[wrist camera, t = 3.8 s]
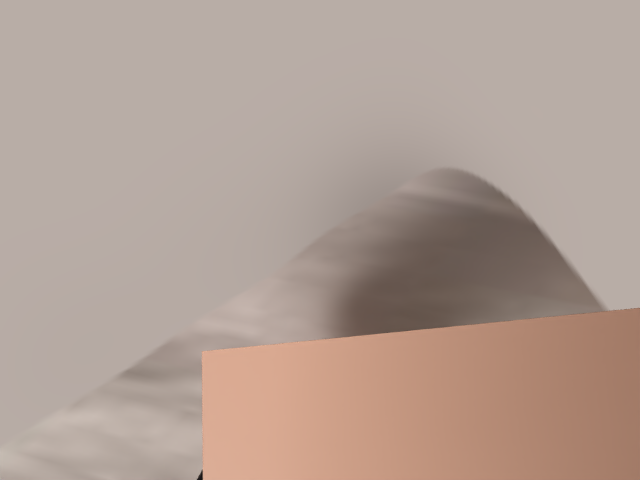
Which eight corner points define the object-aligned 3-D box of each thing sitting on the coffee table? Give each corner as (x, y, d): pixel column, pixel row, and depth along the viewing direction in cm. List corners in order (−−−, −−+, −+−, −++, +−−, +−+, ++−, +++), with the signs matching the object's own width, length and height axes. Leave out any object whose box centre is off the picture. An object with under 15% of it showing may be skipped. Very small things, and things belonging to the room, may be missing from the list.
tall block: (421, 472, 14) (984, 1068, 2) (288, 489, 14) (209, 1280, 2) (400, 336, 15) (696, 301, 4) (279, 348, 15) (202, 351, 3)
